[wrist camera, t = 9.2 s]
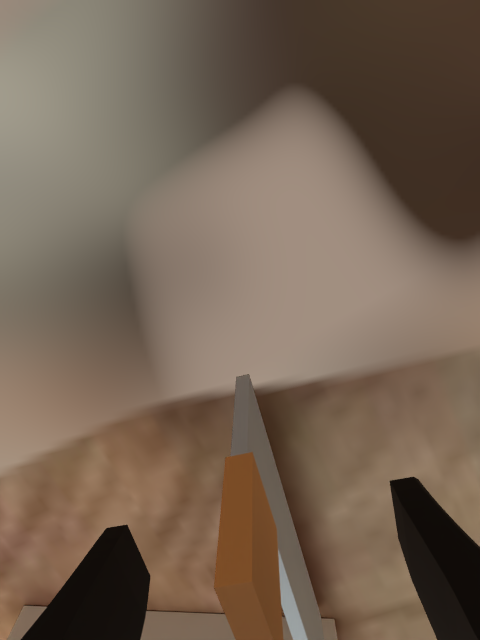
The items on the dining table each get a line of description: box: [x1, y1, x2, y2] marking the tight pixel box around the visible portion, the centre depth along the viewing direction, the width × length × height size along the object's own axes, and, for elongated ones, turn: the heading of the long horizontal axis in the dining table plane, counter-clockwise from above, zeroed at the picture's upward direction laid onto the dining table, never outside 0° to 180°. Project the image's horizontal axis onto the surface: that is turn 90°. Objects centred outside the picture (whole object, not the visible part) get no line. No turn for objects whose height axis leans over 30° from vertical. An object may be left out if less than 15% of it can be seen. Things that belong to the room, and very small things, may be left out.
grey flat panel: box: [214, 374, 324, 640], centre depth 15 cm, size 14×1×9 cm, turn 15°
